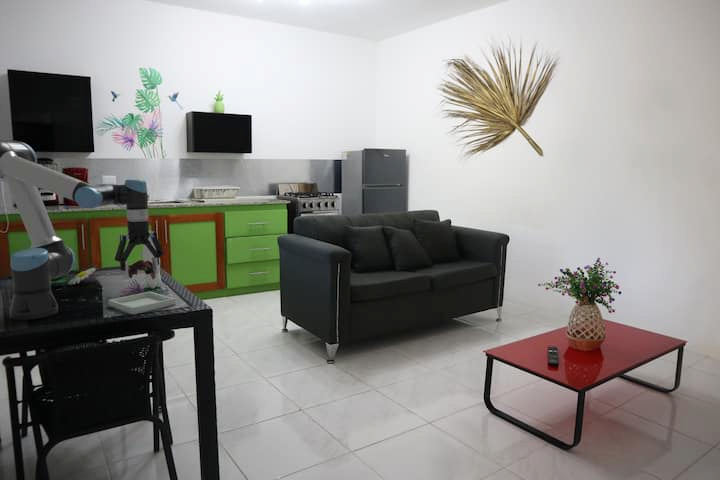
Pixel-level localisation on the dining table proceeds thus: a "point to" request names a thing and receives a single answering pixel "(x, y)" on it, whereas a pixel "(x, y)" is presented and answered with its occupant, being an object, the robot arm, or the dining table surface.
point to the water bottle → (148, 257)
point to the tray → (141, 302)
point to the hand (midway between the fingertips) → (141, 276)
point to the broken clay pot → (141, 268)
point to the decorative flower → (77, 277)
